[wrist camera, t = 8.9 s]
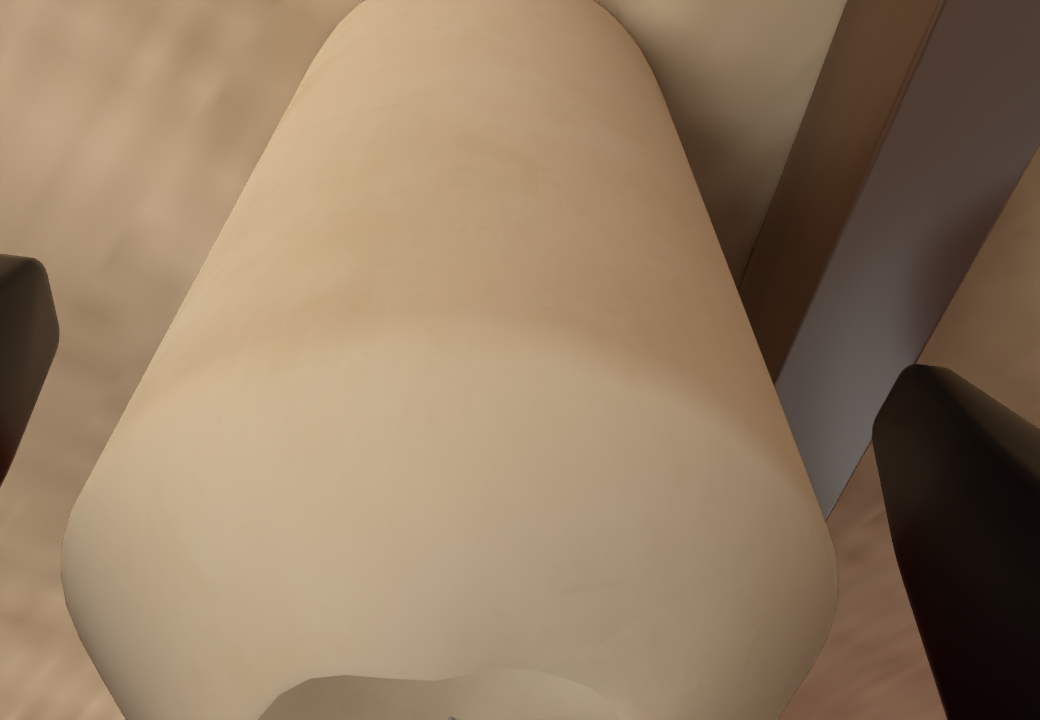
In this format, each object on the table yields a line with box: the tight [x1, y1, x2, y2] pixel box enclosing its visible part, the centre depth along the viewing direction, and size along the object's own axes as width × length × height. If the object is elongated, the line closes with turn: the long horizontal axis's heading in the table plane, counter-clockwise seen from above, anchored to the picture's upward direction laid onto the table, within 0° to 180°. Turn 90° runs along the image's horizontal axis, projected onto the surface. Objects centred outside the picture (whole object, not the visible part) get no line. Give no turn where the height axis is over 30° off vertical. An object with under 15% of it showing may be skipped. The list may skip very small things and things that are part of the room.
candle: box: [61, 0, 839, 720], centre depth 9 cm, size 6×6×10 cm
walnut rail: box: [738, 0, 1040, 523], centre depth 14 cm, size 2×18×2 cm, turn 171°
